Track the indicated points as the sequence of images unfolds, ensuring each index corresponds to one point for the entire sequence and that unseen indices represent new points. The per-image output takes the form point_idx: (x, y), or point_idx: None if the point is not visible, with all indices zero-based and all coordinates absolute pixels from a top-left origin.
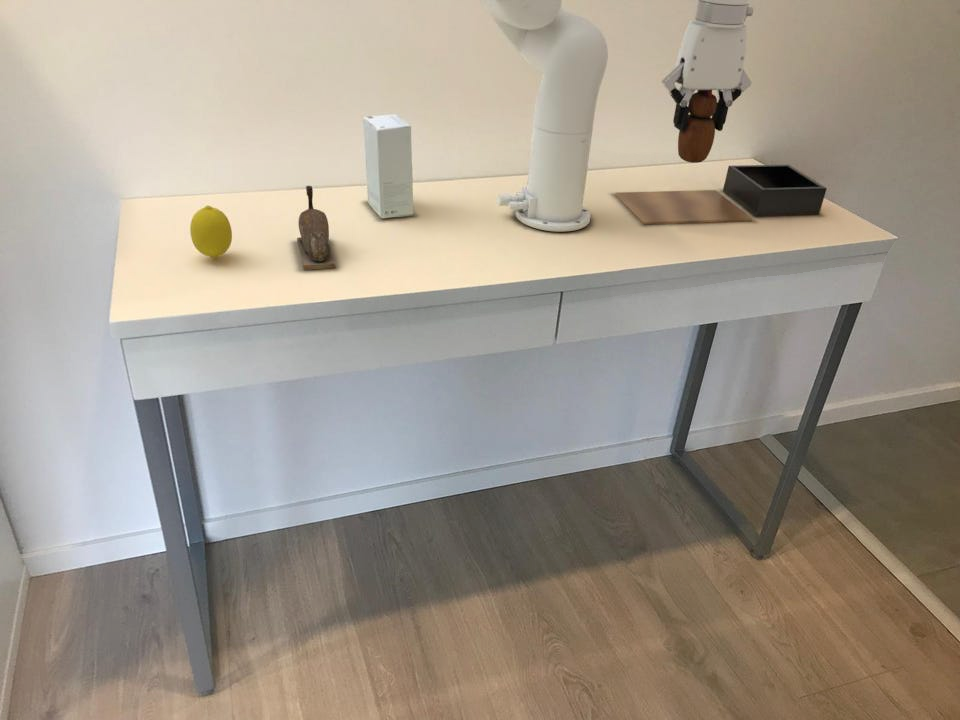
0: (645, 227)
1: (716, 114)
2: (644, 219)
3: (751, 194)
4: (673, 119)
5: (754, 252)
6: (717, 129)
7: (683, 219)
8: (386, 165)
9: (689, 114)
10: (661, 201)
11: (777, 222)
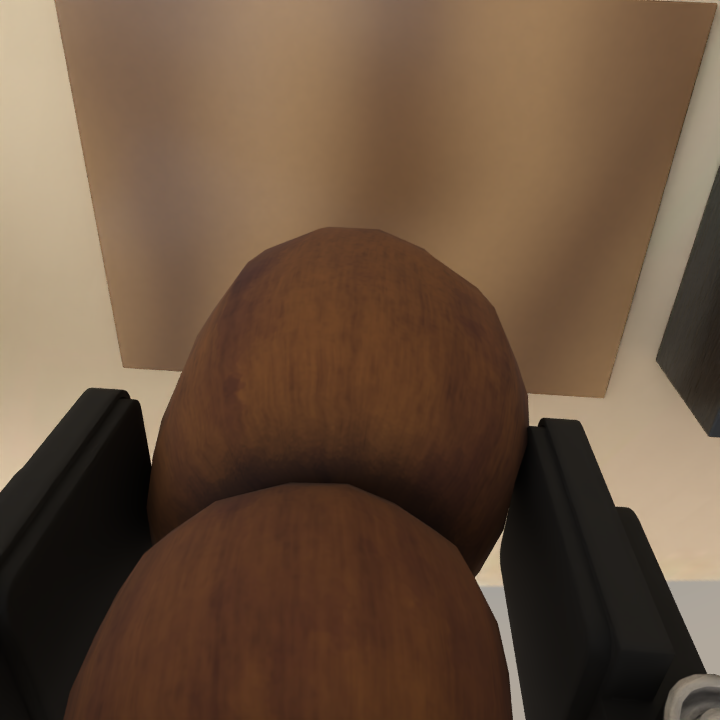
0: (125, 384)
1: (537, 606)
2: (129, 342)
3: (710, 332)
4: (15, 475)
5: None
6: (502, 548)
7: None
8: None
9: (231, 454)
10: (279, 155)
11: None
